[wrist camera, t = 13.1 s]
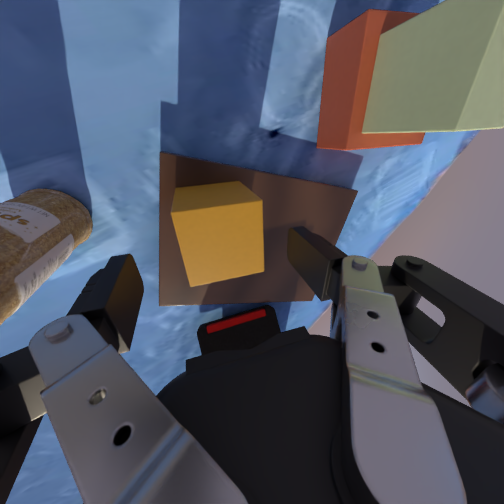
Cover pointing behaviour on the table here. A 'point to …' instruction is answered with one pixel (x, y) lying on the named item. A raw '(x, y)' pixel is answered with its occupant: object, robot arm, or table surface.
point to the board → (274, 231)
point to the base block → (355, 84)
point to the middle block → (440, 71)
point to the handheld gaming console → (239, 330)
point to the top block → (219, 231)
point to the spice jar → (36, 242)
